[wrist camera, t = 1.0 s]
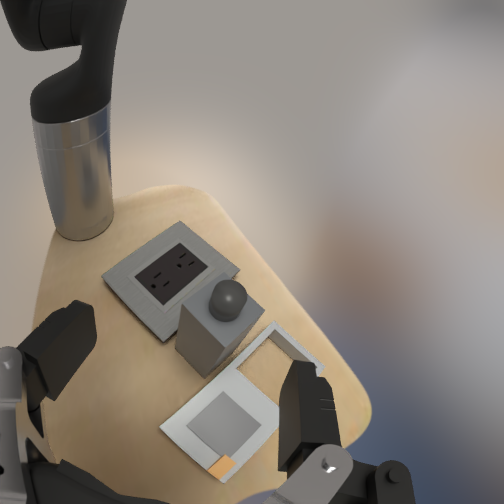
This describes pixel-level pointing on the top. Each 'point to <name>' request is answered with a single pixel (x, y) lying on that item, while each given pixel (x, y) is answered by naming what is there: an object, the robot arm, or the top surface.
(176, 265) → the electrical outlet
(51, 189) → the robot arm
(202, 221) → the top surface
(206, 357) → the plug
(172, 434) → the grey rectangular frame
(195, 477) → the top surface
